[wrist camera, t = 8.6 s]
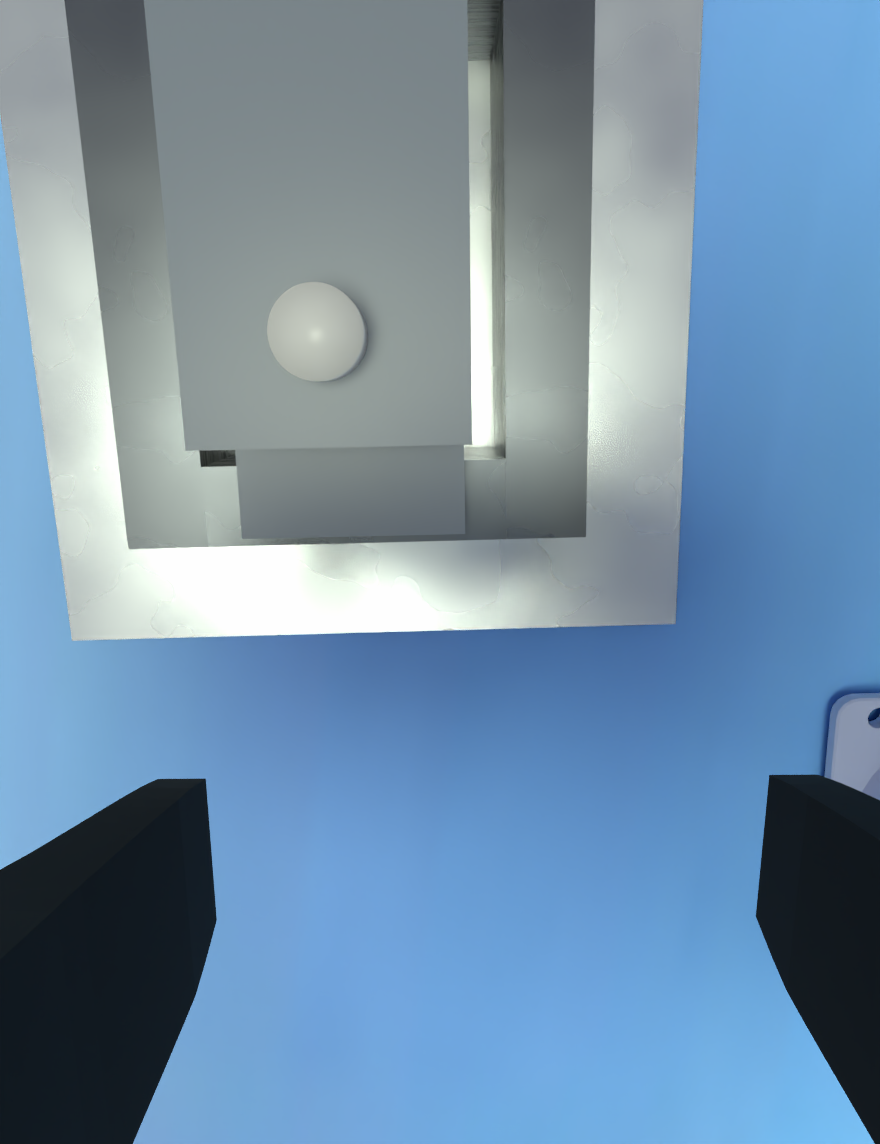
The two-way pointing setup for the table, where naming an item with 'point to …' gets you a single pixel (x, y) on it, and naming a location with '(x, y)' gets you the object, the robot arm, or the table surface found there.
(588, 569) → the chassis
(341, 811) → the table surface
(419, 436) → the servo
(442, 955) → the table surface
